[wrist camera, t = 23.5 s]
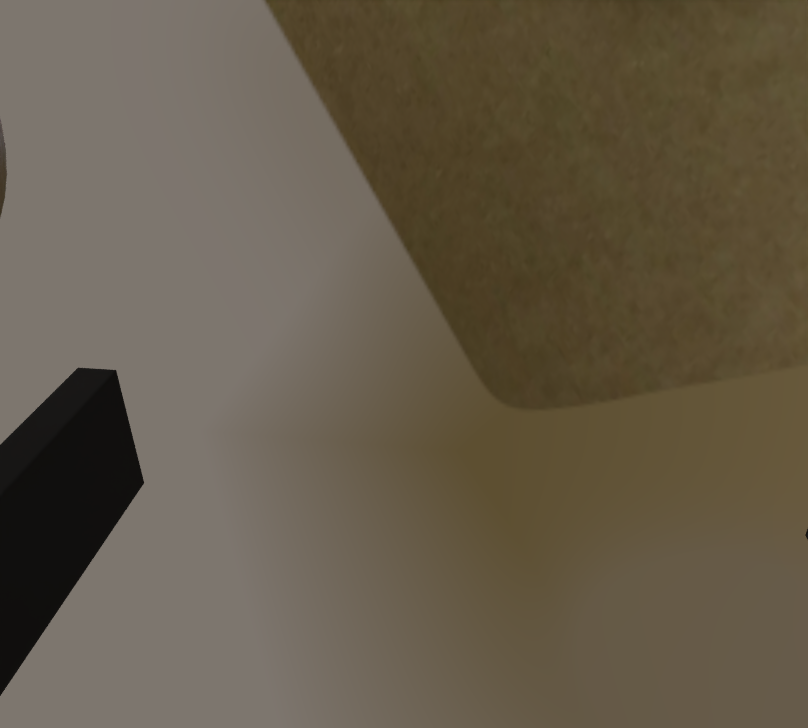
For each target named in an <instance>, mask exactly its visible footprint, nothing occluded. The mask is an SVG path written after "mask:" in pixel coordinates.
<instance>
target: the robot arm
mask: <svg viewBox="0 0 808 728" xmlns="http://www.w3.org/2000/svg"><path fill="white" fill-rule="evenodd" d="M143 484H144V481H143V477H142V473H141V469H140V465H139V461H138V457H137V453H136V449H135V445H134V441H133V436H132V432H131V428H130V424H129V421H128V416H127V413H126V408H125V404H124V401H123V396H122V392H121V388H120V384H119V380H118V376H117V372H116V370H106V369H89V368H77V369H76V370H75V371H74V372H73V373H72V374H71V375H70V376H69V378H67V379H66V380H65V381H64V382H63V383H62V384H61V385H60V386H59V387H58V388H57V389H56V390H55V391H54V392H53V393H52V394H51V395H50V396H49V397H48V398H47V399H46V400H45V401H44V402H43V403H42V404H41V405H40V406H39V407H38V408H37V409H36V410H35V411H34V412H33V413H32V414H31V415H30V416H29V417H28V418H27V419H26V420H25V421H24V422H23V423H22V424H21V425H20V426H19V427H18V428H17V429H16V430H15V431H14V432H13V433H12V434H11V435H10V436H9V437H8V438H7V439H6V440H5V441H4V442H3V443H2V444H1V445H0V695H1V694H2V692H3V691H4V690H5V688H6V687H7V685H8V684H9V682H10V681H11V679H12V678H13V676H14V675H15V673H16V672H17V670H18V669H19V667H20V666H21V664H22V663H23V661H24V660H25V658H26V657H27V655H28V654H29V652H30V651H31V650H32V648H33V647H34V645H35V644H36V642H37V641H38V639H39V638H40V636H41V635H42V633H43V632H44V630H45V629H46V627H47V626H48V624H49V623H50V621H51V620H52V618H53V617H54V616H55V614H56V613H57V611H58V610H59V608H60V607H61V605H62V604H63V602H64V601H65V599H66V598H67V596H68V595H69V593H70V592H71V590H72V589H73V587H74V586H75V584H76V583H77V581H78V580H79V578H80V577H81V576H82V574H83V573H84V571H85V570H86V568H87V567H88V565H89V564H90V562H91V561H92V559H93V558H94V556H95V555H96V553H97V552H98V550H99V549H100V547H101V546H102V544H103V543H104V541H105V540H106V539H107V537H108V535H109V534H110V533H111V531H112V530H113V528H114V526H115V525H116V524H117V522H118V521H119V519H120V518H121V516H122V515H123V513H124V512H125V510H126V509H127V507H128V506H129V504H130V503H131V501H132V500H133V499H134V497H135V495H136V494H137V493H138V491H139V490H140V488H141V487H142V485H143ZM806 537H807V539H808V529H807V532H806Z"/></svg>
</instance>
